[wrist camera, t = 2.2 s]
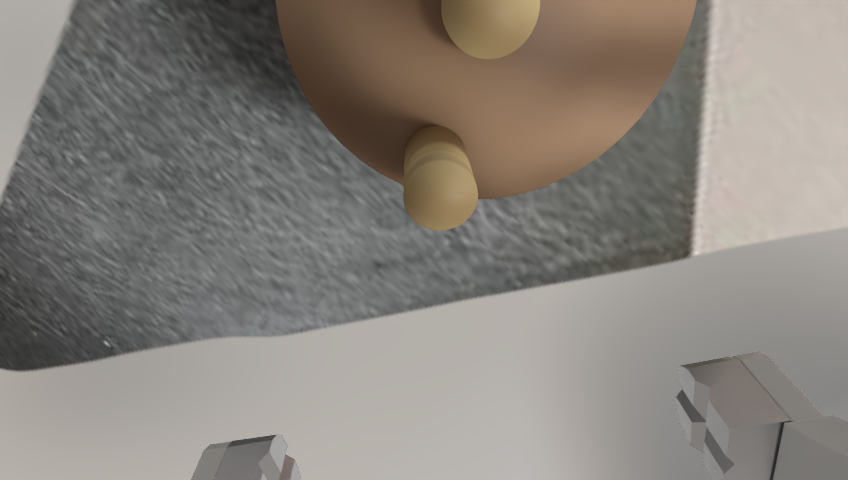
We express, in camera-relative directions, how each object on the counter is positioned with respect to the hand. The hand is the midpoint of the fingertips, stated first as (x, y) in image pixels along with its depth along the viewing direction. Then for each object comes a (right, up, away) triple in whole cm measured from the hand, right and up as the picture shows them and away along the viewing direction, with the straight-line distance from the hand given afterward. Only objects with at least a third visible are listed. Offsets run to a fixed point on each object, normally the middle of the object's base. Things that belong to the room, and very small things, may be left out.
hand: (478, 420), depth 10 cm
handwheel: (+2, +14, +12) cm, 19 cm away
